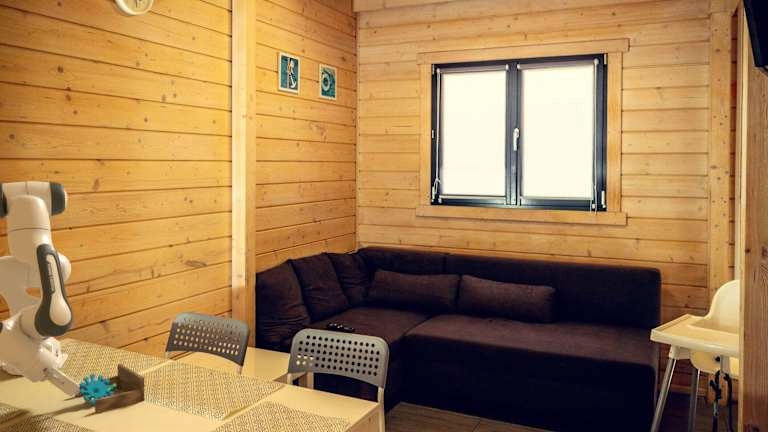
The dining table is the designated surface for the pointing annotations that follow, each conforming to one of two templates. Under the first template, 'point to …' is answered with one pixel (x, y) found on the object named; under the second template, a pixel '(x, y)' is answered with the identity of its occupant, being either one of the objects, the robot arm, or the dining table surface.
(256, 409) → the dining table surface
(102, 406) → the bay
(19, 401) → the dining table surface
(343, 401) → the dining table surface
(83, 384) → the teal round spiked piece
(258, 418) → the dining table surface
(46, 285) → the robot arm
